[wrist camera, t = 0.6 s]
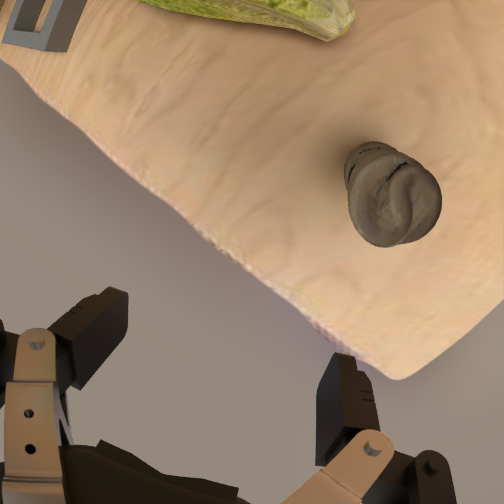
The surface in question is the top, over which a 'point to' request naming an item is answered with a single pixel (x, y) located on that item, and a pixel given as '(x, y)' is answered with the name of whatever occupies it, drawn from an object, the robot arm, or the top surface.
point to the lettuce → (274, 13)
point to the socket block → (53, 31)
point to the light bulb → (390, 195)
